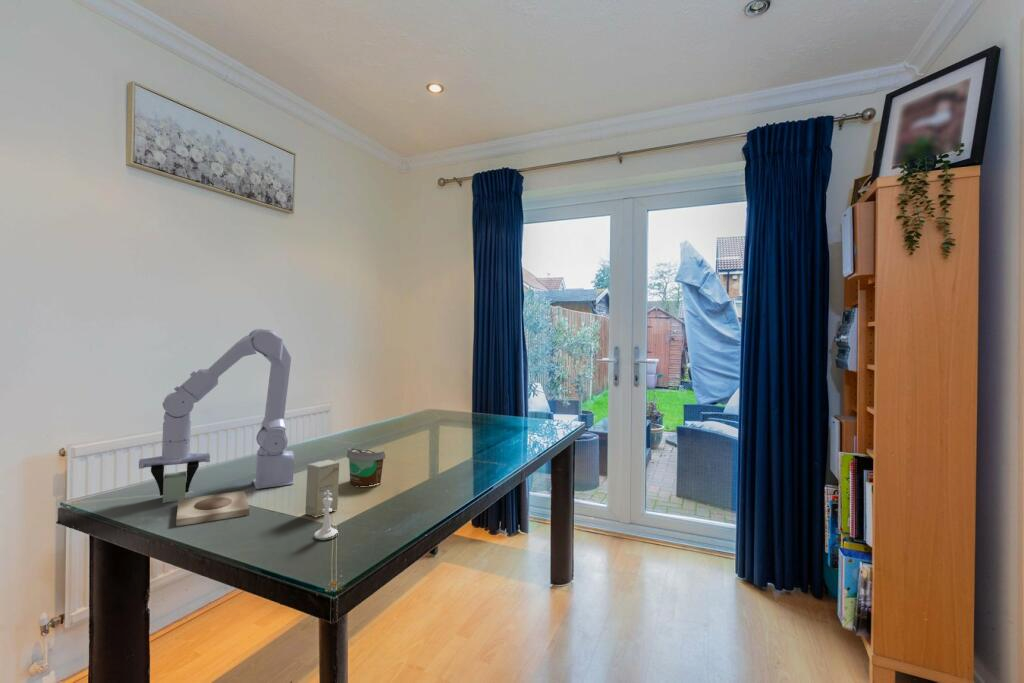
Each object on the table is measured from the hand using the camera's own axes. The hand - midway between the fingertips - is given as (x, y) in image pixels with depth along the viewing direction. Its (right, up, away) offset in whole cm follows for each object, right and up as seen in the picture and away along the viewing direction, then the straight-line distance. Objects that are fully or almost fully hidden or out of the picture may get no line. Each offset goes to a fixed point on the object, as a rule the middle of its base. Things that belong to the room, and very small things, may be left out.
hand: (174, 492), depth 117 cm
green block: (0, -1, 0) cm, 1 cm away
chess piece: (+46, -4, -17) cm, 49 cm away
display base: (+14, -2, -6) cm, 15 cm away
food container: (+42, -3, +17) cm, 45 cm away
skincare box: (+39, -4, -4) cm, 40 cm away
